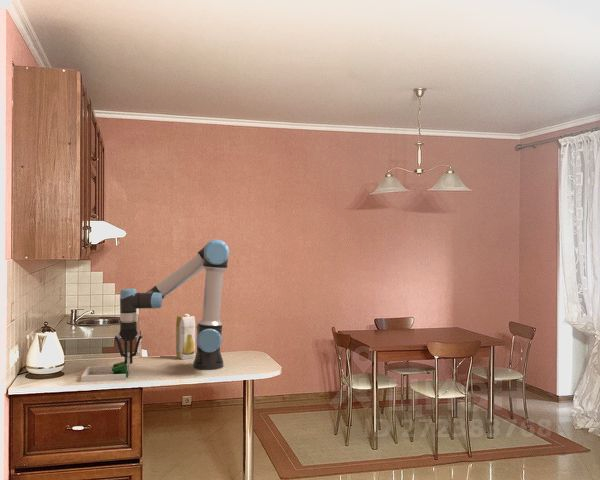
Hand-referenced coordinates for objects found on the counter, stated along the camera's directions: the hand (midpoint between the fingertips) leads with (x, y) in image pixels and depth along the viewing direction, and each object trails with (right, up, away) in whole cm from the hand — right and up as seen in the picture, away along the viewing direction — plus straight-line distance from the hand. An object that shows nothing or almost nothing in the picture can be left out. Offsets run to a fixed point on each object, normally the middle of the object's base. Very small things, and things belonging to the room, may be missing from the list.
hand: (128, 370), depth 295 cm
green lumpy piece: (-4, -3, -1) cm, 5 cm away
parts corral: (-10, -2, -1) cm, 10 cm away
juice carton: (+20, -2, +41) cm, 45 cm away
